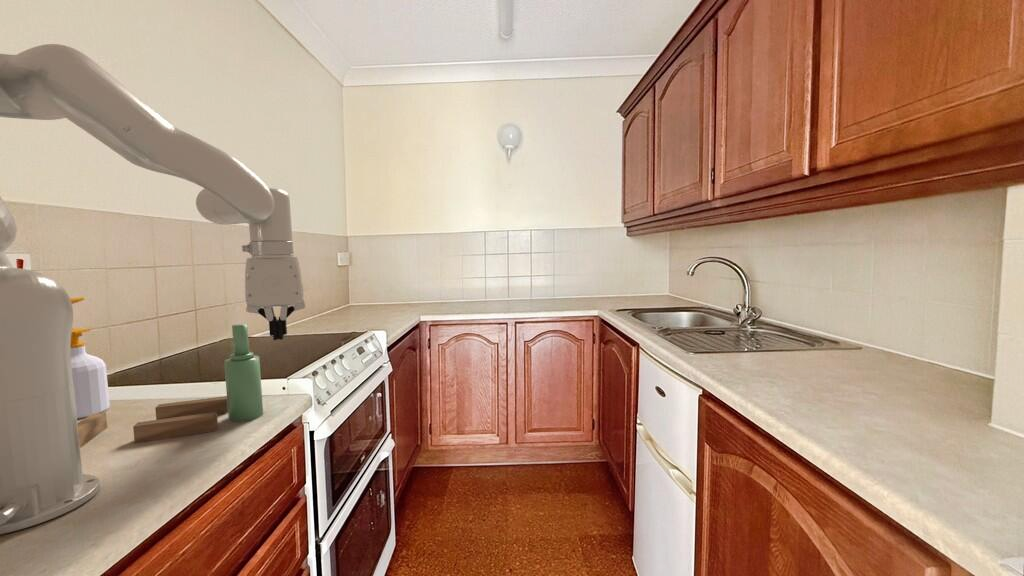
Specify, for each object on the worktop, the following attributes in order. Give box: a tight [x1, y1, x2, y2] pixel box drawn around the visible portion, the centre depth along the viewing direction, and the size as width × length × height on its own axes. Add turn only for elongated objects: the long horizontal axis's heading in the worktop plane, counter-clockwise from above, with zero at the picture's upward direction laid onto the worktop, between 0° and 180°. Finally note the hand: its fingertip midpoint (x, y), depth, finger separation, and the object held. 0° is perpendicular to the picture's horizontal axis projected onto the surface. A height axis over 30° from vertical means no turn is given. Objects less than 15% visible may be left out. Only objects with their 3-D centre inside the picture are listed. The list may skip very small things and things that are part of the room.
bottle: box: [223, 323, 264, 423], centre depth 85 cm, size 6×6×19 cm
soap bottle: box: [70, 297, 111, 420], centre depth 88 cm, size 9×9×25 cm
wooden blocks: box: [77, 395, 228, 449], centre depth 80 cm, size 12×22×3 cm, turn 113°
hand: (278, 338), depth 88 cm, fingers closed
